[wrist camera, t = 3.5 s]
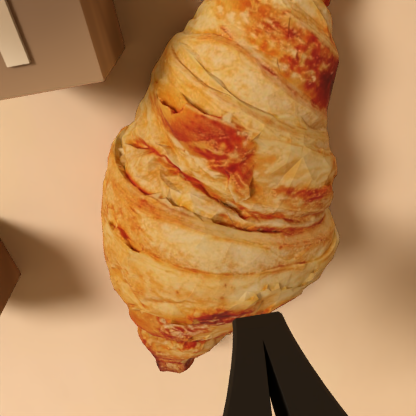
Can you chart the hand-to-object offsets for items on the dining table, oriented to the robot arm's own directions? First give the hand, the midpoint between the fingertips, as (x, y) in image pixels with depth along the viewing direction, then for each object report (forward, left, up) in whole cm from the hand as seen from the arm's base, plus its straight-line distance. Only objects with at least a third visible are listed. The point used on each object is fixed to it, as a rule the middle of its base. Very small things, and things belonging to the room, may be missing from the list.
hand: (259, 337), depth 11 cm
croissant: (0, 0, -9) cm, 9 cm away
